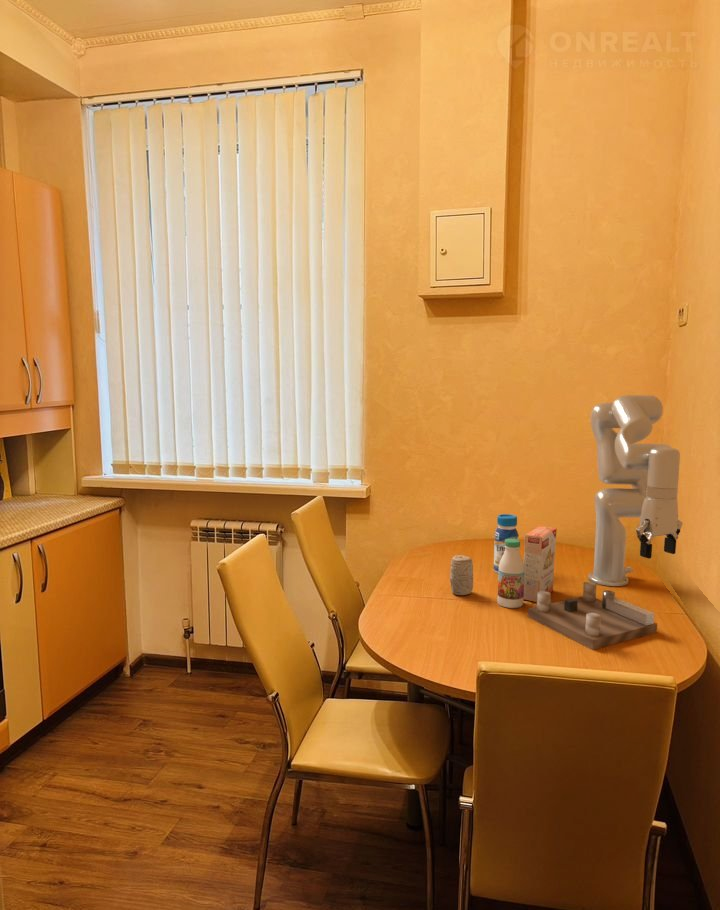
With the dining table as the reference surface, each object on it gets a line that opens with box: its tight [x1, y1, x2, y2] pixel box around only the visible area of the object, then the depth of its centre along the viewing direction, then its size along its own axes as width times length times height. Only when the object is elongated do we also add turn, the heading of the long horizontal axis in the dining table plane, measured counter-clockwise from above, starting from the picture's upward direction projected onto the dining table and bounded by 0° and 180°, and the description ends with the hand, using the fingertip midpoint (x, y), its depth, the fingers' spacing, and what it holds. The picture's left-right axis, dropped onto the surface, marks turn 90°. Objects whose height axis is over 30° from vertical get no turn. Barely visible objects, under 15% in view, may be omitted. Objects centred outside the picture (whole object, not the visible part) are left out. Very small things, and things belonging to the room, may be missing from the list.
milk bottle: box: [496, 539, 524, 609], centre depth 189 cm, size 8×8×20 cm
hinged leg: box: [601, 590, 655, 625], centre depth 175 cm, size 16×3×4 cm, turn 27°
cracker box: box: [523, 525, 558, 603], centre depth 196 cm, size 14×6×21 cm, turn 146°
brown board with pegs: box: [527, 581, 658, 651], centre depth 174 cm, size 24×24×8 cm
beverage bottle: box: [493, 513, 520, 574], centre depth 219 cm, size 8×8×20 cm
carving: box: [449, 554, 474, 596], centre depth 198 cm, size 6×8×12 cm
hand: (657, 554), depth 171 cm, fingers open, 9 cm apart
